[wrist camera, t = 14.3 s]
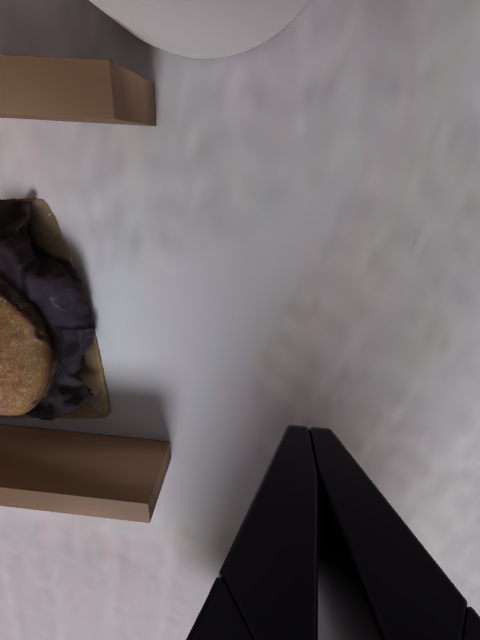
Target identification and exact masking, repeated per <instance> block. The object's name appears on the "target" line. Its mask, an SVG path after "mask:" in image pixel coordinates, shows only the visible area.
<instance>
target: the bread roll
mask: <svg viewBox="0 0 480 640" xmlns="http://www.w3.org/2000/svg"><path fill="white" fill-rule="evenodd" d="M50 213H51V214H50ZM49 214H50V216H49ZM109 412H110V403H109V396H108V389H107V385H106V381H105V375H104V369H103V365H102V359H101V355H100V350H99V347H98V341H97V338H96V334H95V327H94V324H93V321H92V317H91V312H90V310H89V308H88V305H87V303H86V300H85V297H84V294H83V290H82V287H81V280H80V277H79V276H78V275H77V271H76V269H75V267H74V263H73V261H72V258H71V255H70V252H69V250H68V247H67V245H66V242H65V239H64V238H63V236H62V233H61V230H60V228H59V225H58V222H57V220H56V218H55V216H54V214H53V213H52V211H51V209H50V208H49V206H48V204H47V203H46V202H45V201H44V200H43V199H36V198H32V199H7V200H0V417H12V418H39V419H43V420H53V419H55V418H102V417H105V416H107V415H108V414H109Z"/></svg>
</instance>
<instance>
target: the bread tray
mask: <svg viewBox="0 0 480 640" xmlns="http://www.w3.org/2000/svg"><path fill="white" fill-rule="evenodd" d="M0 117H3V118H21V119H39V120H57V121H75V122H93V123H111V124H129V125H147V126H156V111H155V89H154V83H153V82H151V81H149V80H147V79H145V78H143V77H141V76H139V75H137V74H136V73H134V72H132V71H130V70H128V69H126V68H124V67H122V66H120V65H118V64H116V63H115V62H113V61H111V60H105V59H83V58H61V57H39V56H17V55H0ZM170 460H171V454H170V442H165V441H155V440H145V439H136V438H126V437H116V436H106V435H97V434H87V433H77V432H68V431H58V430H48V429H39V428H29V427H19V426H10V425H0V506H8V507H16V508H25V509H34V510H42V511H51V512H59V513H68V514H77V515H85V516H94V517H103V518H111V519H120V520H128V521H137V522H146V523H150V521H151V518H152V515H153V512H154V509H155V506H156V503H157V500H158V497H159V494H160V491H161V488H162V485H163V482H164V478H165V475H166V472H167V469H168V466H169V463H170Z"/></svg>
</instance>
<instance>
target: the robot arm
mask: <svg viewBox="0 0 480 640" xmlns="http://www.w3.org/2000/svg"><path fill="white" fill-rule="evenodd" d="M186 640H480V617H479V616H478V614H477V613H476V612H475V610H474V609H473V608H472V607H467V601H466V599H465V598H464V597H463V596H462V594H461V593H460V592H459V591H458V589H457V588H456V587H455V586H454V584H453V583H452V582H451V581H450V579H449V578H448V577H447V575H446V574H445V573H444V572H443V570H442V569H441V568H440V567H439V565H438V564H437V563H436V562H435V560H434V559H433V558H432V557H431V555H430V554H429V553H428V551H427V550H426V549H425V548H424V546H423V545H422V544H421V543H420V541H419V540H418V539H417V538H416V536H415V535H414V534H413V533H412V531H411V530H410V529H409V527H408V526H407V525H406V524H405V522H404V521H403V520H402V519H401V517H400V516H399V515H398V514H397V512H396V511H395V510H394V509H393V507H392V506H391V505H390V503H389V502H388V501H387V500H386V498H385V497H384V496H383V495H382V493H381V492H380V491H379V490H378V488H377V487H376V486H375V485H374V483H373V482H372V481H371V480H370V478H369V477H368V476H367V474H366V473H365V472H364V471H363V469H362V468H361V467H360V466H359V464H358V463H357V462H356V461H355V459H354V458H353V457H352V456H351V454H350V453H349V452H348V450H347V449H346V448H345V447H344V445H343V444H342V443H341V442H340V440H339V439H338V438H337V437H336V435H335V434H334V433H333V432H332V430H330V429H328V428H319V427H311V428H309V429H308V427H306V426H298V425H289V426H287V428H286V430H285V432H284V434H283V437H282V439H281V441H280V443H279V445H278V447H277V449H276V452H275V454H274V456H273V458H272V460H271V462H270V464H269V467H268V469H267V471H266V473H265V475H264V477H263V479H262V482H261V484H260V486H259V488H258V490H257V492H256V495H255V497H254V499H253V501H252V503H251V505H250V507H249V510H248V512H247V514H246V516H245V518H244V520H243V522H242V525H241V527H240V529H239V531H238V533H237V535H236V537H235V540H234V542H233V544H232V546H231V548H230V550H229V553H228V555H227V557H226V559H225V561H224V563H223V565H222V568H221V570H220V572H219V577H217V578H216V580H215V582H214V584H213V586H212V588H211V590H210V592H209V595H208V597H207V599H206V601H205V603H204V605H203V607H202V609H201V611H200V613H199V615H198V617H197V619H196V621H195V623H194V625H193V627H192V629H191V631H190V633H189V635H188V637H187V639H186Z"/></svg>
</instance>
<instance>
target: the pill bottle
mask: <svg viewBox="0 0 480 640" xmlns="http://www.w3.org/2000/svg"><path fill="white" fill-rule="evenodd" d="M89 1H90V2H92V3H93V4H94V5H95V6H97V7H98V8H99V9H100V10H102V11H103V12H104V13H105V14H107V15H108V16H109V17H111V18H112V19H113V20H114V21H116V22H117V23H118V24H119V25H121V26H122V27H123V28H124V29H126V30H127V31H128V32H130V33H131V34H133V35H134V36H136V37H137V38H139V39H141V40H142V41H144V42H146V43H148V44H150V45H152V46H154V47H157V48H159V49H162V50H164V51H167V52H169V53H172V54H176V55H179V56H184V57H189V58H198V59H215V58H223V57H228V56H233V55H236V54H240V53H243V52H245V51H248V50H250V49H253V48H255V47H257V46H259V45H260V44H262V43H264V42H266V41H267V40H269V39H270V38H272V37H273V36H275V35H276V34H277V33H279V32H280V31H281V30H283V29H284V28H285V27H286V26H287V25H288V24H289V23H290V22H291V21H292V20H294V19H295V17H296V16H297V15H298V14H299V13H300V12H301V11H302V10H303V9H304V8H305V6H306V5H307V4H308V3H309V1H310V0H89Z"/></svg>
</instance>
